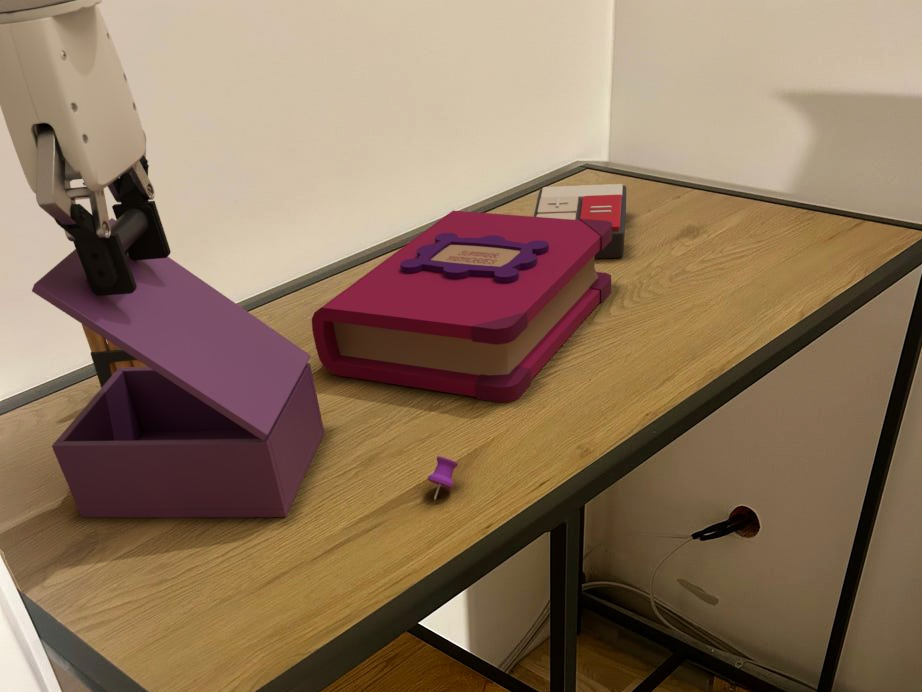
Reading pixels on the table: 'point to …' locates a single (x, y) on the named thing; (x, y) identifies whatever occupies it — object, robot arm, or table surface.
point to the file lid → (184, 332)
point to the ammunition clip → (108, 356)
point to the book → (468, 305)
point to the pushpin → (443, 473)
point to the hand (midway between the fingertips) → (133, 272)
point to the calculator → (588, 209)
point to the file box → (184, 452)
